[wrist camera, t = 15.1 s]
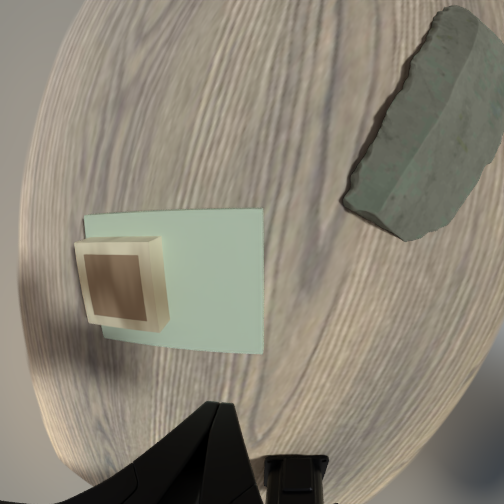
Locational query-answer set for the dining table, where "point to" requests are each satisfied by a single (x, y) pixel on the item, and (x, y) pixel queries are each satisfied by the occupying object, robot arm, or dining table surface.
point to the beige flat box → (124, 282)
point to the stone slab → (435, 130)
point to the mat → (200, 275)
